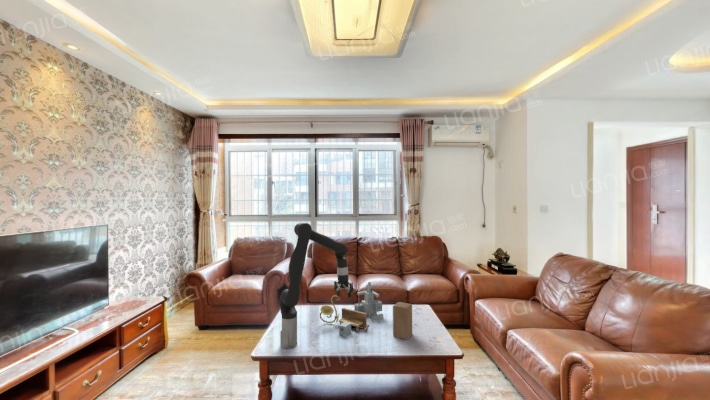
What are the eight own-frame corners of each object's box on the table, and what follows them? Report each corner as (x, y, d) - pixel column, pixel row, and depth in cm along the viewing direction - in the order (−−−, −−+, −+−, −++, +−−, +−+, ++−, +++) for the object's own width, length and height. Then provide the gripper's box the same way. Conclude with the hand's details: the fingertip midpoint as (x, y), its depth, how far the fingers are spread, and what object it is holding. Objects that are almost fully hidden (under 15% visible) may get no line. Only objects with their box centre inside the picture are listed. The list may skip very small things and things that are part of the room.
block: (407, 340, 179) (407, 308, 179) (392, 336, 184) (392, 305, 185) (412, 334, 188) (412, 303, 188) (398, 330, 193) (398, 301, 193)
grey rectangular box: (344, 336, 185) (344, 327, 185) (338, 334, 188) (338, 325, 188) (351, 332, 192) (351, 323, 192) (345, 330, 194) (344, 321, 194)
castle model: (352, 314, 222) (352, 282, 222) (372, 311, 229) (372, 279, 229) (362, 323, 206) (362, 288, 206) (383, 319, 213) (383, 285, 214)
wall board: (360, 332, 191) (360, 317, 192) (336, 325, 202) (336, 311, 202) (368, 326, 201) (368, 311, 201) (345, 320, 212) (345, 306, 212)
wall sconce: (337, 320, 210) (345, 293, 201) (334, 330, 201) (342, 302, 192) (319, 315, 211) (326, 287, 202) (316, 324, 202) (322, 296, 193)
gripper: (331, 273, 196) (332, 297, 196) (348, 275, 189) (350, 300, 189) (337, 271, 203) (338, 294, 203) (354, 272, 195) (356, 296, 195)
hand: (344, 296), depth 196 cm, fingers open, 8 cm apart
